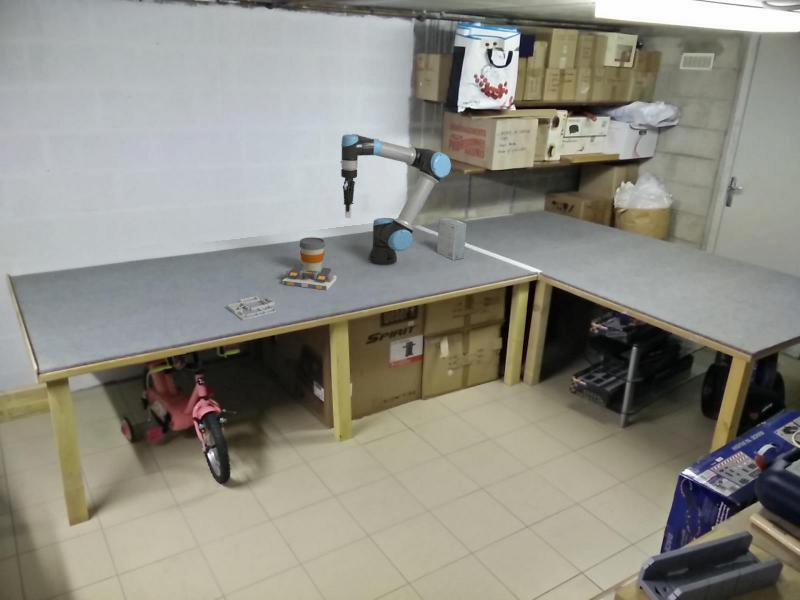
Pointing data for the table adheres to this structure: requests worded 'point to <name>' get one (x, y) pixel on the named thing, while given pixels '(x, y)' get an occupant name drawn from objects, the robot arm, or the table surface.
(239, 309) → the floor plan model
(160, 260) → the table surface
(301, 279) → the switch unit
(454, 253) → the hard drive box
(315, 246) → the reusable coffee cup
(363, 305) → the table surface
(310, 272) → the rocker middle
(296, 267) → the rocker
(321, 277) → the rocker
